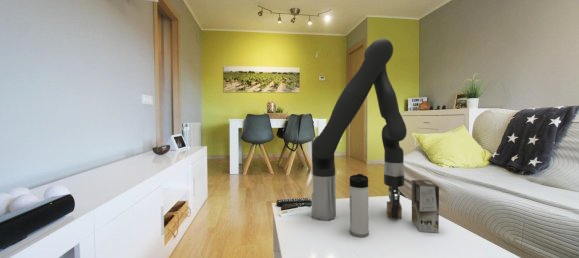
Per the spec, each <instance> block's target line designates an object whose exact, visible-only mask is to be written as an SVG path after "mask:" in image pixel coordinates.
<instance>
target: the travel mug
mask: <svg viewBox="0 0 579 258" xmlns="http://www.w3.org/2000/svg"><path fill="white" fill-rule="evenodd" d="M369 200H370V199H369V177H368V176H367V175H364V174H363V173H357V174H353V175H350V176H349V233H350V235H352V236H354V237H358V238H365V237H368V236H369V234H370V233H369V232H370V231H369V227H370V226H369V224H370V223H369V222H370V221H369V220H370V218H369V217H370V215H369V213H370V211H369V207H370V206H369Z"/></svg>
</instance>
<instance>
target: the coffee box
mask: <svg viewBox="0 0 579 258" xmlns="http://www.w3.org/2000/svg"><path fill="white" fill-rule="evenodd" d="M439 211H440V186H439V185H437V184H436V183H434V182H433V181H431V180H429V179H411V221H412V223H413V224H414V226H415V227H416V229H417V230H418V232H423V233H424V232H426V233H439V231H440V229H439V226H440V225H439V224H440V223H439V222H440V221H439V219H440V216H439V215H440V214H439Z"/></svg>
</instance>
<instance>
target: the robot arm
mask: <svg viewBox="0 0 579 258" xmlns="http://www.w3.org/2000/svg"><path fill="white" fill-rule="evenodd" d="M393 54H394V46H393V43H392V42H391V40H389V39H386V38H379V39H376V40H374V41H372V42H371V43H370V44H369V45H368V46H367V48H366V49H365V51H364V54H363V58H364V60H363V62H362V63H361V65H360V66H359V69H358V70H357V71H356V73H354V75H353V77H352V78H350V80H349V81H348V82H347V84H346V85H345V87H344V88H343V90H342V92H341V94H340V95H339V96H338V99H337V100H336V102H335V104H334V107H333V108H332V111H331V114H330V116H329V119H328V122H327V123H326V125H325V127H323V129H322V131H321V133H319V134H318V135H317V136H316V137H314V139H313V140H312V142H311V157H312V158H311V159H312V160H311V161H312V162H311V163H312V164H311V168H312V169H311V170H312V193H311V217H312V218H315V219H316V220H319V221H320V220H321V221H330V220H333V219H335V218H336V216H337V199H336V198H337V197H336V194H337V193H336V189H337V188H336V163H335V152H336V150H337V148H338V145H339V143H340V141H341V140H342V138H343V135H344V133H345V131H346V130H347V128H349V127H350V126H349V125H351V123H352V121H353V120H354V118H355V117H356V116H357V114H358V113H359V111H360V110H361V108H362V106H363V104H364V102H365V101H366V99H367V96H368V95H369V93H370V91H371V89H372V88H374V91H375V94H376V100H377V103H378V104H377V105H378V109H379V113H380V117H381V118H382V119H384V121H385V125H384V126H383V127H382V130H381V141H382V144H383V145H382V146H383V149H384V151H383V152H384V154H383V155H384V158H383V160H384V163H383V164H384V165H383V184H384V185H385V186H388V199H389V202H391V207H392V217H393V218H398V209H399V208H400V207H399V202H400V203H401V201H400V198H401V196H400V195H401V190H400V188H401V187H403V186H405V165H404V163H405V162H404V161H405V160H404V156H405V155H404V149H403V148H402V147H401V145H400V142H402V141H404V139H405V138H406V137H407V133H408V131H407V125H406V122H405V121H404V118H403V116H402V114H401V112H400V109H399V103H398V98H397V97H398V96H397V94H396V91H395V89H394V87H393V85H392V84H391V81H390V78H389V76H388V75H389V74H388V72H387V63H389V61H390V60H391V58H392V56H393ZM373 86H374V87H373ZM394 203H395V204H397V205H394ZM393 218H392V219H393Z"/></svg>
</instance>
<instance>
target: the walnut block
mask: <svg viewBox="0 0 579 258" xmlns="http://www.w3.org/2000/svg"><path fill="white" fill-rule="evenodd" d="M394 205H397V204H395V203H394ZM399 207H400V208H399V209H398V218H393V217H392V207H391V202H390V201H388V200H387V201H386V216H387V219H393V220H394V219H395V220H402V219H403V216H402V215H403V207H402V205H401V201H400V202H399Z"/></svg>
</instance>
